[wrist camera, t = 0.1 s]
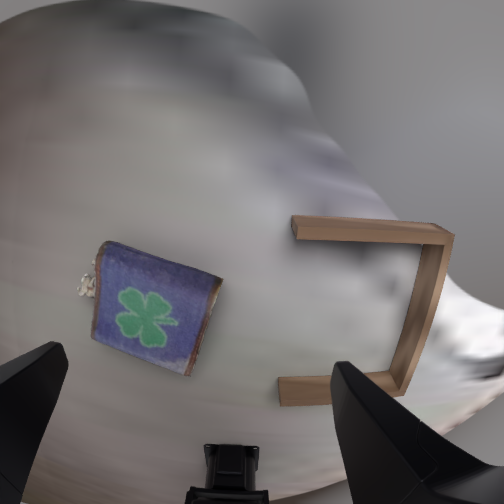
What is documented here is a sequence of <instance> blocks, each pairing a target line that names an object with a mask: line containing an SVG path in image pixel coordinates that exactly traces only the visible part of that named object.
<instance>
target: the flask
mask: <svg viewBox="0 0 504 504" xmlns="http://www.w3.org/2000/svg"><path fill="white" fill-rule="evenodd" d="M91 264H92V265H94V272H95V276H94V277H93V278H92V280H91V277H90V275H89V274H85V276H84V277H83V278H82V280H81V286H82V288H81V290H80V288H79V287H78V288H77V291H78V295H79V296H83V295H85V294H87V296H88V297H95V298H94V309H93V319H92V327H91V338H92V339H94V340H96V341H98V342H100V343H102V344H106V345H109V346H111V347H113V348H116V349H118V350H120V351H123V352H126V353H128V354H130V355H134V356H136V357H138V358H141V359H143V360H146V361H149V362H151V363H154V364H156V365H158V366H161V367H164V368H167V369H169V370H172V371H174V372H176V373H179V374H182V375H185V376H190V374H191V373H192V371H193V369H194V367H195V361H196V359H197V356H198V354H199V351H200V348H201V344H202V342H203V338H204V334H205V330H206V329H207V327H208V321H209V319H210V316H211V312H212V309H213V306H214V304H215V302H216V299H217V296H218V292H219V290H220V287H221V285H222V282H223V278H220V277H217V276H215V275H212V274H209V273H206V272H204V271H201V270H198V269H196V268H192V267H189V266H184V265H182V264H179V263H175V262H171V261H168V260H165V259H163V258H159V257H156V256H153V255H150V254H148V253H145V252H142V251H139V250H136V249H134V248H131V247H128V246H125V245H123V244H120V243H118V242H114V241H105V242H104V243H102V246H101V247H100V248H99V250H98V253H97V256H96V259H94V260H93V261H92V263H91Z"/></svg>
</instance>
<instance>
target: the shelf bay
mask: <svg viewBox="0 0 504 504" xmlns="http://www.w3.org/2000/svg"><path fill="white" fill-rule="evenodd" d="M291 227H292V229H293V231H294V233H295V236H296V238H297V239H307V240H338V241H366V242H392V243H416V244H423V248H422V254H421V259H420V263H419V268H418V273H417V277H416V281H415V285H414V290H413V294H412V298H411V301H410V305H409V309H408V313H407V316H406V320H405V323H404V327H403V330H402V333H401V336H400V340H399V343H398V346H397V349H396V352H395V355H394V358H393V361H392V364H391V367H390V370H389V371H382V372H372V373H363V374H365V375H366V376H367V377H368V378H369V379H371V380H372V381H373V382H374V383H376V384H377V385H378V386H379V387H380V388H382V389H383V390H384V391H385V392H387V393H388V394H389V395H390V396H391V397H399V396H404V394H405V392H406V390H407V388H408V385H409V383H410V381H411V378H412V376H413V373H414V371H415V369H416V366H417V363H418V361H419V358H420V356H421V353H422V350H423V348H424V345H425V342H426V339H427V336H428V334H429V331H430V328H431V325H432V322H433V318H434V315H435V312H436V309H437V305H438V302H439V299H440V295H441V292H442V288H443V284H444V280H445V276H446V272H447V268H448V264H449V260H450V255H451V250H452V246H453V241H454V236H455V235H454V234H453V233H451V232H449V231H447V230H445V229H444V228H442V227H440V226H438V225H436V224H433V223H422V222H421V223H420V222H407V221H394V220H379V219H362V218H344V217H324V216H300V215H292V224H291ZM330 380H331V376H311V377H279V378H278V389H279V401H280V406H310V405H327V404H332V398H331V391H330Z"/></svg>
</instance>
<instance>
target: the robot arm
mask: <svg viewBox="0 0 504 504" xmlns="http://www.w3.org/2000/svg"><path fill="white" fill-rule="evenodd" d="M67 370H68V359H67V357H66V354H65V351H64V348H63V346H62V344H61V343H59V342H54V341H50V342H48V343H46V344H44V345H42V346H40V347H38V348H36V349H34V350H32V351H30V352H28V353H25V354H23V355H21V356H19V357H17V358H15V359H13V360H11V361H9V362H7V363H5V364H3V365H1V366H0V504H20V502H21V499H22V496H23V495H22V494H23V492H24V489H25V485H26V482H27V479H28V476H29V473H30V470H31V467H32V464H33V461H34V459H35V456H36V453H37V450H38V448H39V445H40V442H41V440H42V437H43V435H44V432H45V430H46V427H47V425H48V422H49V420H50V417H51V415H52V412H53V410H54V408H55V405H56V403H57V400H58V397H59V394H60V391H61V388H62V385H63V382H64V379H65V376H66V373H67ZM330 391H331V398H332V406H333V415H334V423H335V429H336V434H337V438H338V442H339V446H340V450H341V454H342V458H343V462H344V466H345V470H346V475H347V479H348V483H349V487H350V492H351V496H352V500H353V504H504V466H493V465H489V464H486V463H484V462H482V461H481V460H479V459H477V458H475V457H474V456H472V455H470V454H469V453H467V452H466V451H464V450H462V449H461V448H459V447H457V446H456V445H454V444H453V443H451V442H450V441H448V440H447V439H445V438H444V437H442V436H441V435H439V434H438V433H437V432H435V431H434V430H433V429H431V428H430V427H429V426H427V425H426V424H425V423H424V422H422V421H421V422H420V419H419V418H417V417H416V416H415V415H414V414H412V413H411V412H410V411H409V410H407V409H406V408H405V407H404V406H402V405H401V404H400V403H399V402H398V401H396V400H395V399H394V398H393V397H391V396H390V395H389V394H388V393H387V392H385V391H384V390H383V389H382V388H380V387H379V386H378V385H377V384H376V383H374V382H373V381H372V380H371V379H369V378H368V377H367V376H366V375H365V374H363V373H362V372H361V371H360V370H359V369H357V368H356V367H355V366H354V365H353V364H351V363H350V362H349V361H338V362H336V363H335V364H334V368H333V372H332V376H331V380H330ZM206 446H210V447H206ZM253 448H257V449H253ZM204 452H205V458H206V463H207V475H206V484H205V488H196V487H193V486H191V487H190V490H189V491H188V492H187V494H186V500H185V504H269V497H268V490H263V491H255V471H257V470H258V459H259V447H258V446H242V445H225V444H220V445H215V444H205V445H204Z"/></svg>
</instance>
